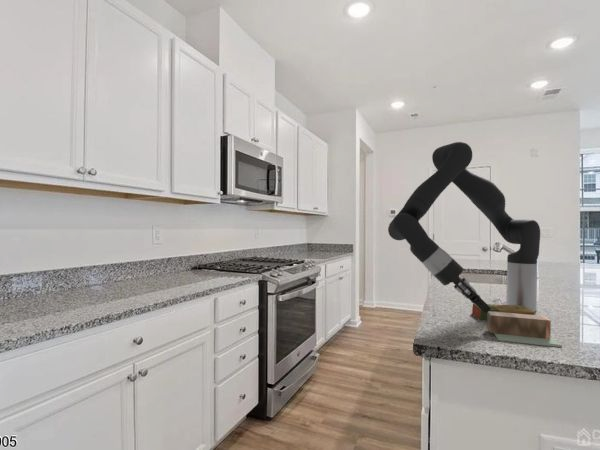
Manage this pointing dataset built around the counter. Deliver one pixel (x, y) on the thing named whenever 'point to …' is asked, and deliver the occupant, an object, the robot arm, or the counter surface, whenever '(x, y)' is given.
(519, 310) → the carton
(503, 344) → the counter surface
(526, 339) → the mat
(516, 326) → the copper block
